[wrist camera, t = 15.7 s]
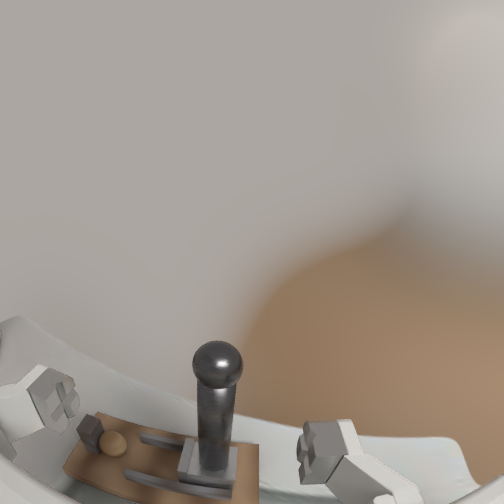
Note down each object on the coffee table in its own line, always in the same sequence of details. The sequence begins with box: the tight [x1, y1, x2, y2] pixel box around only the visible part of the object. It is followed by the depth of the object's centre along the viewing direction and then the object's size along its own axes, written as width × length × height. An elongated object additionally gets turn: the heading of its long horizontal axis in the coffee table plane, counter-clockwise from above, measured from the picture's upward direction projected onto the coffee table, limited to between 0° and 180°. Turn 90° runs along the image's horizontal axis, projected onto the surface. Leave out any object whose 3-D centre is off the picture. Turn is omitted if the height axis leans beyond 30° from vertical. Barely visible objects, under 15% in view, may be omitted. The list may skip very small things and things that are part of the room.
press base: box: [63, 412, 259, 504], centre depth 24 cm, size 23×12×6 cm, turn 89°
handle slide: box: [177, 341, 243, 492], centre depth 22 cm, size 6×5×19 cm
